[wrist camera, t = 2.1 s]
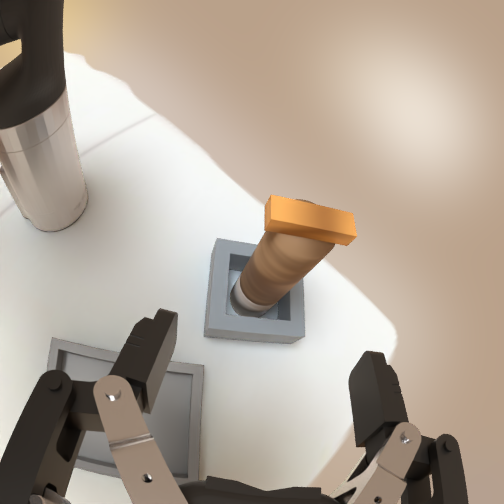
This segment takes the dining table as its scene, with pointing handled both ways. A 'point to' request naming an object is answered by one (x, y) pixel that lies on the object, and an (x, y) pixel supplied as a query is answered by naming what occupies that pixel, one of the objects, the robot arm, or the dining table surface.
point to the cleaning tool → (288, 251)
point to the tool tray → (158, 422)
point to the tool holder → (243, 327)
